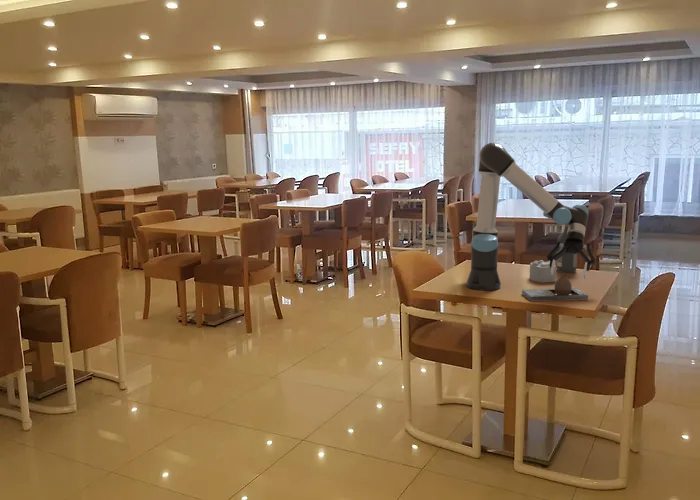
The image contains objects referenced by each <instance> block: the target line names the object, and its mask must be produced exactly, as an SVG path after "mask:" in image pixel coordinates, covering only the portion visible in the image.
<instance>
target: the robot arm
mask: <svg viewBox="0 0 700 500" xmlns="http://www.w3.org/2000/svg"><path fill="white" fill-rule="evenodd" d="M478 161H479V165H478V173H479V174H480V175H481V176H480V187H479V188H480V189H479V195H478V198H479V199H478V207H477V215H476V216H477V218H476V226H474V228H473V229H472V235H471V242H470V249H471V250H470V251H471V252H470V253H471V254H470V255H471V257H470V258H471V259H470V271H469V275H468V278H467V280H466V287H467V288H469V289H471V290H478V291H495V290H498V289H500V288H501V284H502V283H501V279H500V276H499V273H498V254H499V253H498V247H499V241H498V234H499V231H498V230H497V228H496V223H497V212H498V203H499V191H500V184H501V177H502V178H504V179H505V180H507V181H508V182H509V183H510V184H511V185H512V186H514V187H515V188H516V189H517V190H518V191H519V192H521V193H522V194H523V195H524V196H525V197H527V199H528V200H530V201H531V202H532V203H533V204H534V205H535V206H536V207H538V208H539V209H540V210H541V211H543V214H542V215H543V217H545V218H548V219H551V220H552V221H554V223H555V224H557V225H561V226H563V225H564V226H565V224H569V226H568V231H567V236H566V241H565V243H564V244H563V243H560V242H558V243H557V244H556V246H555V247H553V249H552V250H551V251H550V252H549V253H548V255H546V260H547V261H550V268H551V275H553V272H554V268H555V265H556V262H557V259H559V258H560V257H561V256H563V255H564V254H567V253H569V254H571V253H573V254H576V253H577V255H579V256H580V257H581V258H582V260H584V262H585V264H584V268H583V273H582V275H583V279H586V277H587V273H588V272H590V270H591V266H592V265H596V259H595V257H594V255H593V252H592V250H591V245H590V243H587V244H584V241H585V235H586V228H587V225H588V224H587V223H588V219H589V208H588V207H587V206H586V205H584V204H575V205H574V206H572V207H569V206H566V205H564V204H563V203H561V202H560V201H559V200H558V199H557V198H555V197H554V196H553V195H552V194H551V193H550V192H549V191H547V190H546V189H545V188H544V187H543V186H542V185H540V184H539V183H538V181H536V180H535V179H534V178H533V177H531V176H530V175H529V174H528V173H527V172H526V171H524V170H523V169H522V168H521V167H520V166H519V165H518V164H516V163H517V162H516V159H515V158H513V157H512V156H511V155H510V153H509V152H508V151H507V150H506V148H505V147H504V146H503V145H501V144H500V143H498V142H489V143H487V144H485V145H484V146H482V148H481V149H480V151H479V160H478ZM562 247H564V248H563V249H562V250H561V251H560V252H558V251H559V249H560V248H562ZM583 249H584V250H585V251H586V253H587V254H588V256H587V255H586V253H584V252H583ZM557 252H558V253H557Z"/></svg>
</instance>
